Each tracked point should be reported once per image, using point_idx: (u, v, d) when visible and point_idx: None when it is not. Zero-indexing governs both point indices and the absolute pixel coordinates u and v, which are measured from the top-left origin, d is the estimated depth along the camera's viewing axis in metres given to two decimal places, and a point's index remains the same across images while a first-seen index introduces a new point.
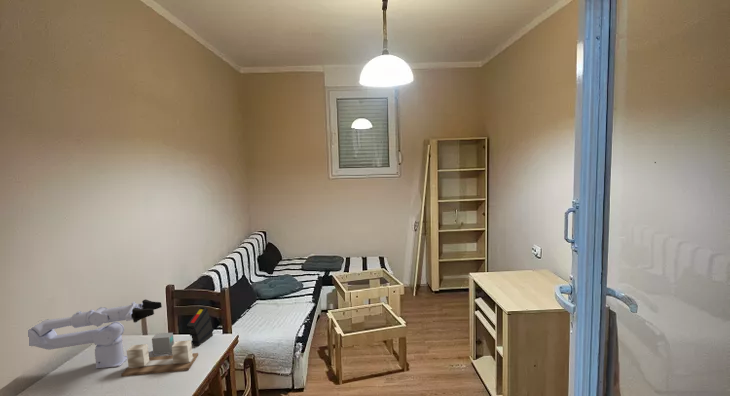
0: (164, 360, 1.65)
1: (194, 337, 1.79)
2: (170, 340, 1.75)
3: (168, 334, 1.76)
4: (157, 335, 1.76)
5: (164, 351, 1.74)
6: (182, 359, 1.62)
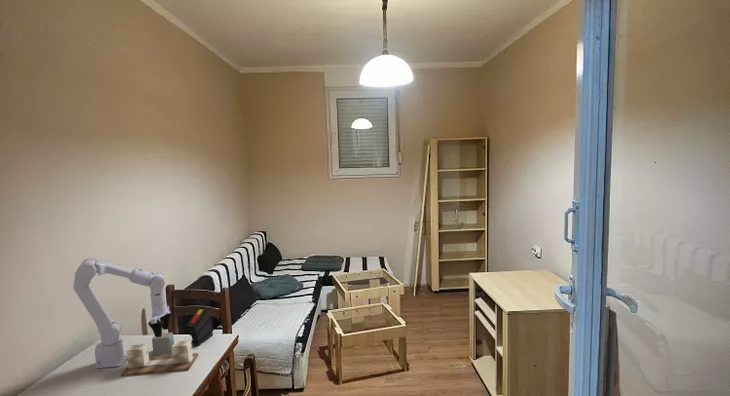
0: (164, 360, 1.65)
1: (194, 337, 1.79)
2: (170, 340, 1.75)
3: (168, 334, 1.76)
4: None
5: (164, 351, 1.74)
6: (182, 359, 1.62)
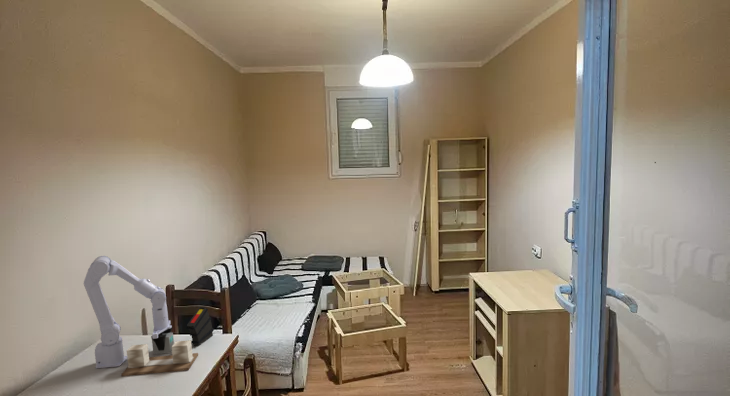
0: (164, 360, 1.65)
1: (194, 337, 1.79)
2: (170, 340, 1.75)
3: (168, 334, 1.76)
4: None
5: (164, 351, 1.74)
6: (182, 359, 1.62)
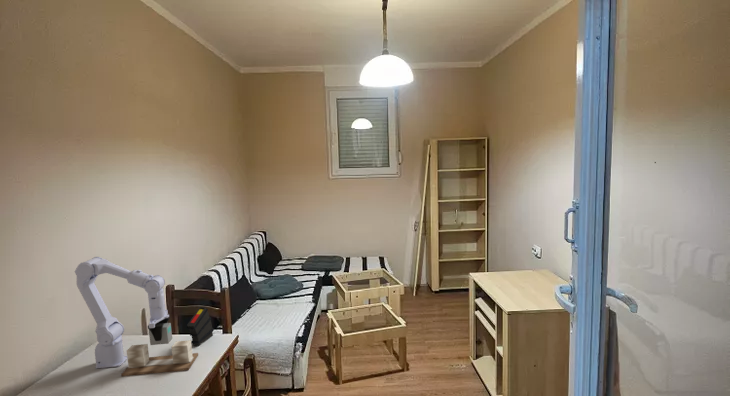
0: (164, 360, 1.65)
1: (194, 337, 1.79)
2: (168, 330, 1.68)
3: (165, 324, 1.69)
4: None
5: (161, 342, 1.67)
6: (182, 359, 1.62)
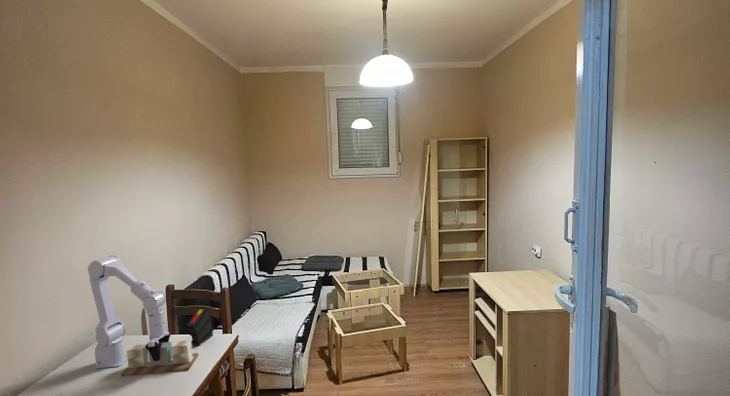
0: None
1: (194, 337, 1.79)
2: (168, 350, 1.63)
3: (165, 344, 1.63)
4: None
5: (162, 362, 1.61)
6: (182, 359, 1.62)
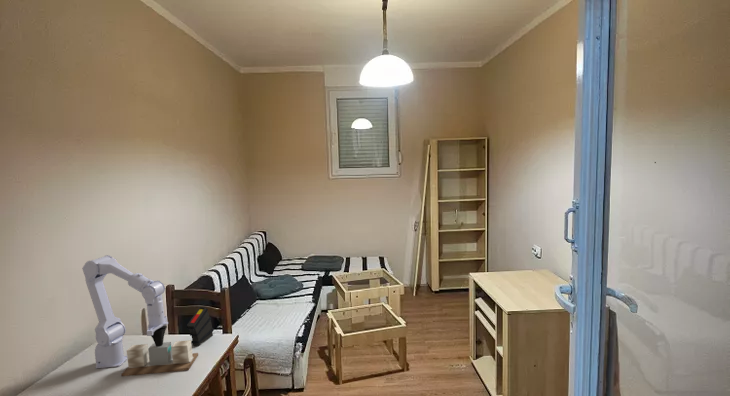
0: None
1: (194, 337, 1.79)
2: (168, 350, 1.63)
3: (165, 344, 1.63)
4: (154, 345, 1.63)
5: (162, 362, 1.61)
6: (182, 359, 1.62)
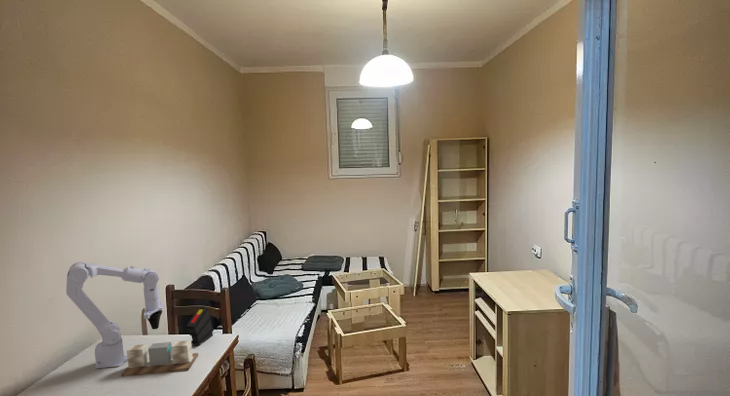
0: None
1: (194, 337, 1.79)
2: (168, 350, 1.63)
3: (165, 344, 1.63)
4: (154, 345, 1.63)
5: (162, 362, 1.61)
6: (182, 359, 1.62)
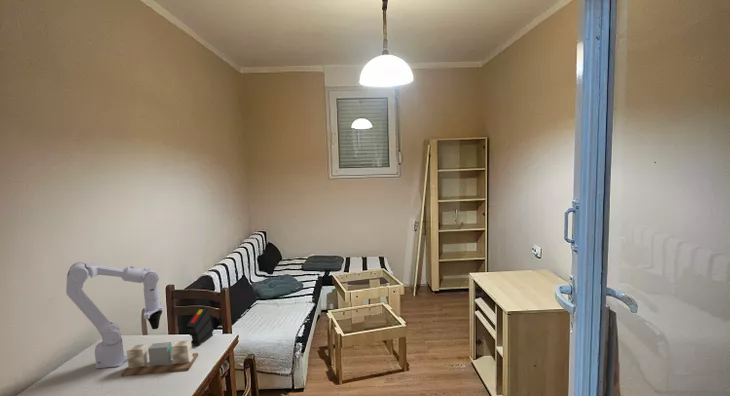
0: None
1: (194, 337, 1.79)
2: (168, 350, 1.63)
3: (165, 344, 1.63)
4: (154, 345, 1.63)
5: (162, 362, 1.61)
6: (182, 359, 1.62)
